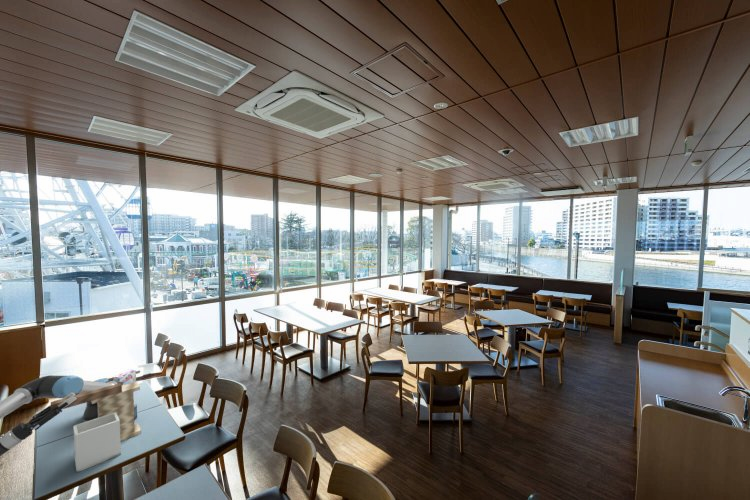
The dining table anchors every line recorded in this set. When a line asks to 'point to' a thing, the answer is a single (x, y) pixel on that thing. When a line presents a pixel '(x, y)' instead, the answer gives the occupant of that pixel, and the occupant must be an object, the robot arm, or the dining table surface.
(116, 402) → the birch pedestal
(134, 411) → the flask
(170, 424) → the dining table surface
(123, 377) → the candy box
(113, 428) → the white open box
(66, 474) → the dining table surface
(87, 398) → the walnut block
